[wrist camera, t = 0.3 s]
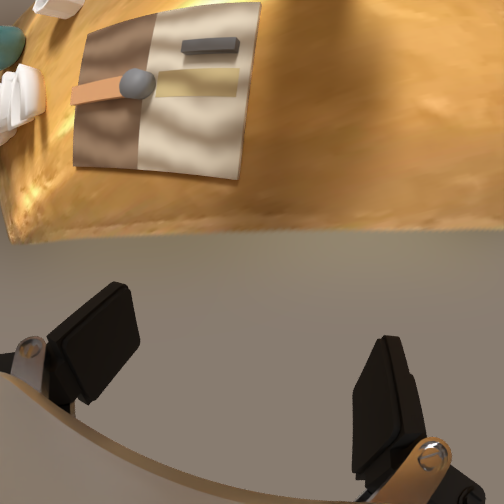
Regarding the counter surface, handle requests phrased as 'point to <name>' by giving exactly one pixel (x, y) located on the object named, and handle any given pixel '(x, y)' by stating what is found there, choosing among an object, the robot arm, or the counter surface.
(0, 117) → the wavy white extrusion
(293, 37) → the counter surface
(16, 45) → the vase
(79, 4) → the mug
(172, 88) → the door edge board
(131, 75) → the bar
